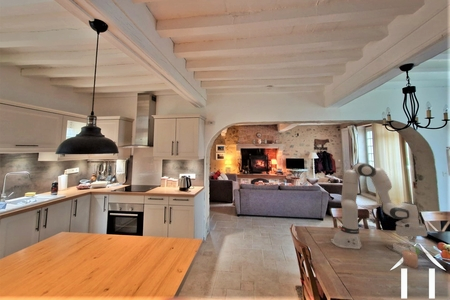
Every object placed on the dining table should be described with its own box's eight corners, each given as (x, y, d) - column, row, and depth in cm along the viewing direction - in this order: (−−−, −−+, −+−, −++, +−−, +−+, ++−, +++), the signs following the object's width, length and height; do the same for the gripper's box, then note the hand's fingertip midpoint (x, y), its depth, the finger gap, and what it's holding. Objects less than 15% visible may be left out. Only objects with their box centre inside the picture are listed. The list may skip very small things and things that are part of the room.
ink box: (419, 247, 132) (403, 248, 132) (419, 254, 131) (403, 255, 132) (407, 242, 140) (392, 242, 140) (407, 248, 140) (393, 249, 140)
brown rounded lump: (410, 267, 117) (409, 255, 118) (400, 261, 124) (399, 250, 125) (421, 267, 117) (420, 255, 117) (410, 261, 124) (409, 250, 124)
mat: (405, 257, 128) (405, 257, 128) (386, 247, 144) (386, 246, 144) (424, 258, 127) (424, 257, 127) (403, 247, 143) (403, 246, 143)
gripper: (420, 222, 139) (421, 239, 139) (393, 222, 140) (394, 239, 140) (429, 225, 133) (430, 243, 132) (401, 225, 134) (402, 243, 133)
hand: (412, 241), depth 136 cm, fingers closed
